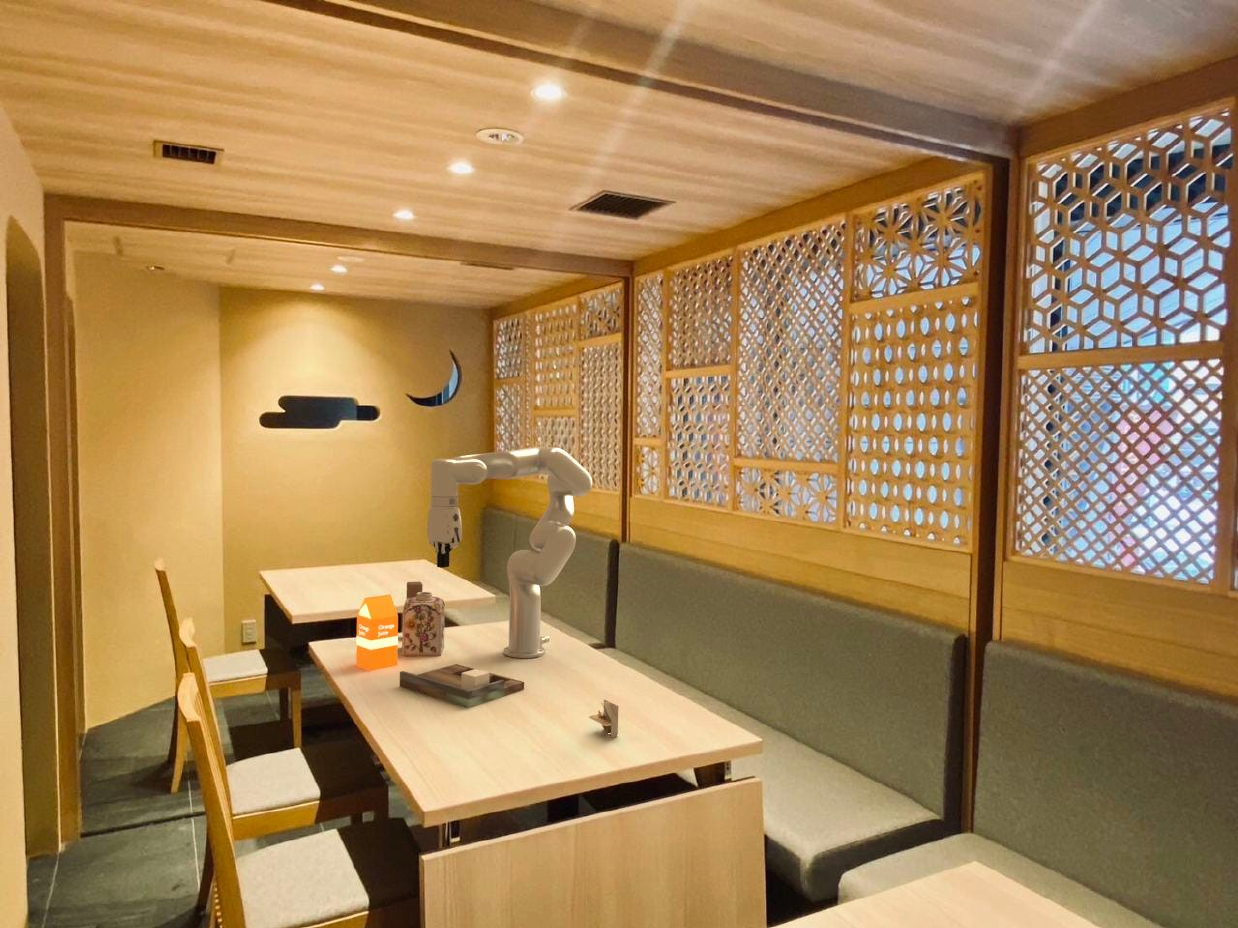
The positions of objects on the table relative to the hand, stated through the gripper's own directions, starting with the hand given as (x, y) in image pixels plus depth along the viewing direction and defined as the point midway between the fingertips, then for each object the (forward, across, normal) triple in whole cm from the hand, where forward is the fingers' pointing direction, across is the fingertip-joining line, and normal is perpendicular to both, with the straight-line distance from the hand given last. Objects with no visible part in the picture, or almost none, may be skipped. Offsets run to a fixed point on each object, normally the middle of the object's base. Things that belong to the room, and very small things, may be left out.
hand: (443, 566), depth 249 cm
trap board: (+29, -18, +9) cm, 35 cm away
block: (+27, -27, +13) cm, 40 cm away
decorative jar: (+29, +18, -9) cm, 36 cm away
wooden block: (+29, +32, -20) cm, 48 cm away
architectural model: (+30, -68, +11) cm, 75 cm away
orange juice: (+29, +16, +10) cm, 35 cm away
